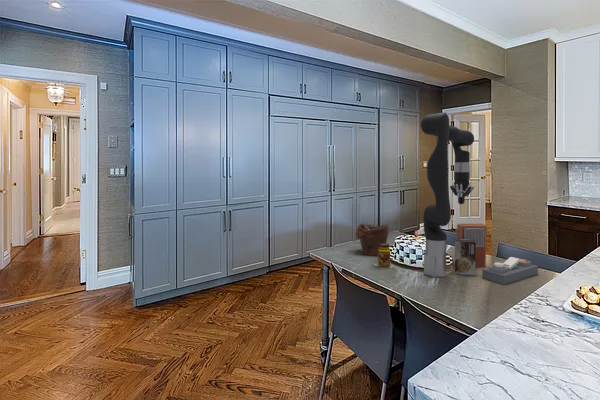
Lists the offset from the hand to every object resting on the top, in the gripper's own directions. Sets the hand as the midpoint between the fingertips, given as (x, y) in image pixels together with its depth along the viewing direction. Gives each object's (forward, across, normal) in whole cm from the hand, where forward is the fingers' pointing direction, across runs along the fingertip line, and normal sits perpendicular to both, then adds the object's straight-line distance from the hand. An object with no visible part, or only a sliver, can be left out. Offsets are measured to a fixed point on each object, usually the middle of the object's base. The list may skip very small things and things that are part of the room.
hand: (461, 203), depth 178 cm
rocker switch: (+26, +28, -2) cm, 38 cm away
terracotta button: (+27, +28, +7) cm, 39 cm away
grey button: (+26, +28, -11) cm, 39 cm away
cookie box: (+31, +14, -15) cm, 37 cm away
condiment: (+31, -15, -40) cm, 53 cm away
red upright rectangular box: (+31, +8, -2) cm, 32 cm away
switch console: (+31, +28, -2) cm, 42 cm away
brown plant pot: (+31, -39, -27) cm, 57 cm away
